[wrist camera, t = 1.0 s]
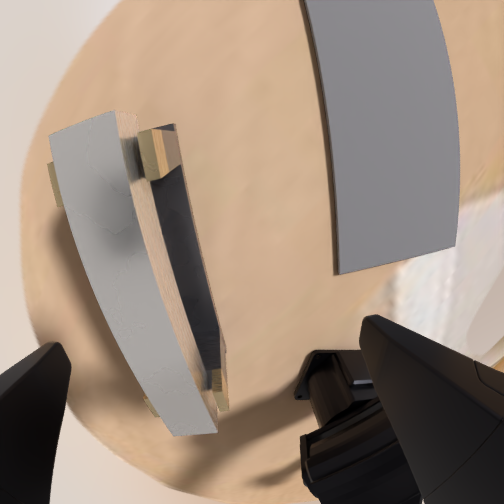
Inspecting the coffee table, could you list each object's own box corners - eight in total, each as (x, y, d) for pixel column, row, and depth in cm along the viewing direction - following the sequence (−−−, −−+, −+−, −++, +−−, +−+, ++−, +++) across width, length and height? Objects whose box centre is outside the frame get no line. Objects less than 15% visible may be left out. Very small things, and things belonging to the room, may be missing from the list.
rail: (216, 398, 18) (218, 432, 16) (175, 402, 18) (173, 436, 15) (136, 114, 11) (114, 109, 8) (80, 133, 11) (48, 135, 8)
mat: (452, 244, 22) (455, 246, 21) (337, 272, 21) (339, 274, 21) (425, -14, 12) (427, -15, 12) (292, -40, 12) (294, -42, 11)
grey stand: (225, 346, 23) (231, 414, 16) (167, 354, 23) (157, 421, 16) (175, 124, 16) (149, 116, 10) (101, 144, 16) (44, 153, 9)
